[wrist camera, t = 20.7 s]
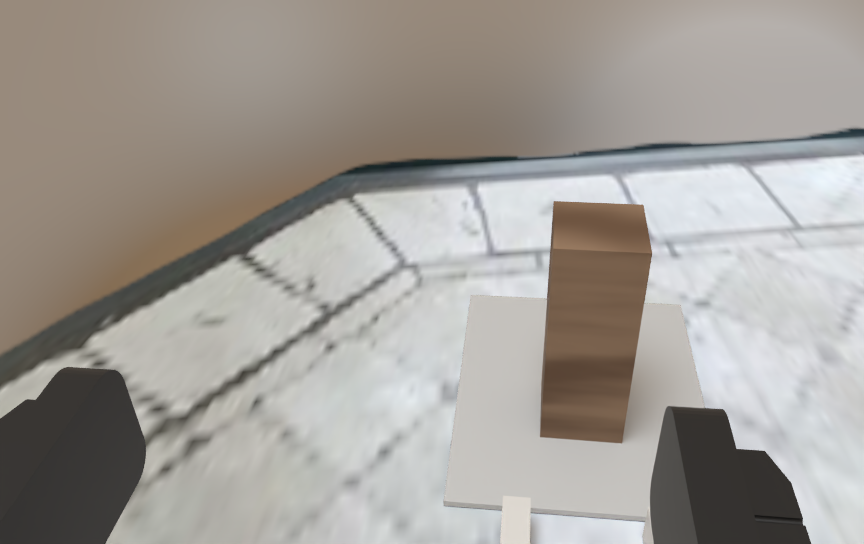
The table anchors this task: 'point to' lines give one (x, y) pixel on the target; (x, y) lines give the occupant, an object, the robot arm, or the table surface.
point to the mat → (521, 409)
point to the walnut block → (592, 318)
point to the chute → (518, 522)
